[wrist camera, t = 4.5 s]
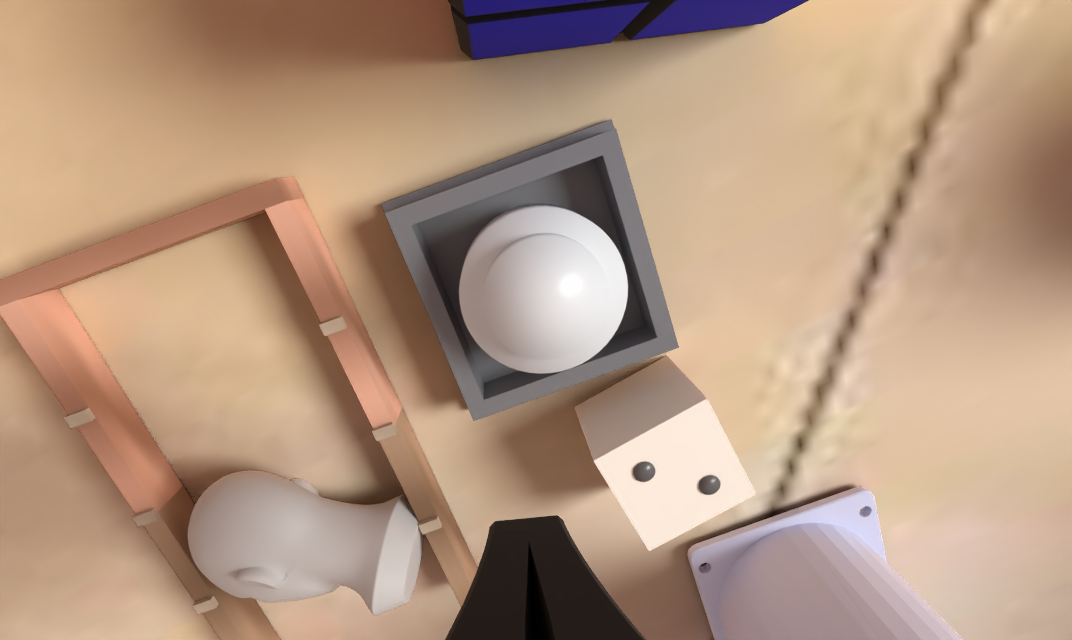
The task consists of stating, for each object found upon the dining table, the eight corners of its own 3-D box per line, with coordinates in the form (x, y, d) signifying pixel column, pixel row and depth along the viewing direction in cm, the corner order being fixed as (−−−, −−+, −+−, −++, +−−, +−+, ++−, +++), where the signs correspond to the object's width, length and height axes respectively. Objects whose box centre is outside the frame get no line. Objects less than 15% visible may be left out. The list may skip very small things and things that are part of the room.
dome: (631, 322, 19) (654, 348, 16) (494, 372, 19) (495, 405, 16) (586, 180, 17) (604, 183, 14) (438, 235, 17) (429, 247, 15)
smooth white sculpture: (225, 512, 22) (231, 426, 19) (416, 559, 23) (446, 484, 21) (158, 618, 18) (154, 529, 16) (389, 668, 20) (421, 593, 17)
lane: (480, 572, 22) (479, 606, 20) (266, 648, 22) (248, 688, 21) (294, 177, 17) (273, 178, 16) (25, 276, 18) (-26, 288, 16)
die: (708, 435, 22) (757, 495, 18) (620, 483, 22) (649, 552, 18) (666, 354, 20) (707, 399, 17) (573, 405, 21) (593, 461, 17)
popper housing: (672, 336, 20) (689, 352, 18) (470, 408, 20) (468, 431, 18) (609, 119, 18) (622, 115, 16) (382, 203, 18) (371, 207, 16)
